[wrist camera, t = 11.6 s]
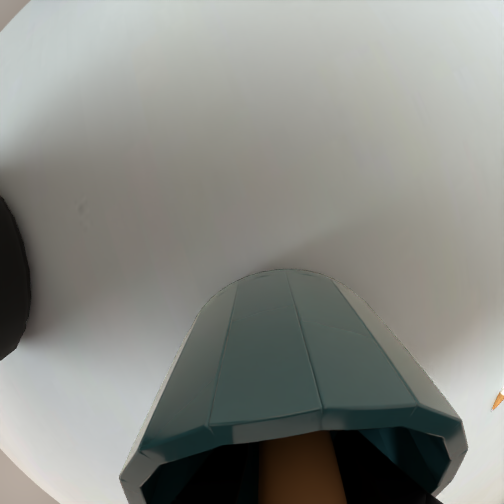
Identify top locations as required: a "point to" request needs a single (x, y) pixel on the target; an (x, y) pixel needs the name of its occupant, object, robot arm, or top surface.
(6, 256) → the coffee jar
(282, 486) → the tan wooden dowel
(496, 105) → the top surface
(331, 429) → the teal cup
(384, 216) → the top surface
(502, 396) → the pencil
